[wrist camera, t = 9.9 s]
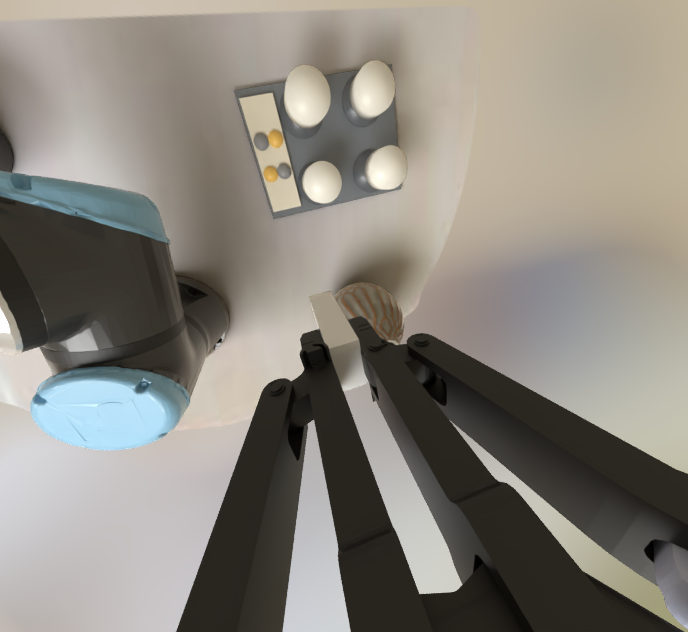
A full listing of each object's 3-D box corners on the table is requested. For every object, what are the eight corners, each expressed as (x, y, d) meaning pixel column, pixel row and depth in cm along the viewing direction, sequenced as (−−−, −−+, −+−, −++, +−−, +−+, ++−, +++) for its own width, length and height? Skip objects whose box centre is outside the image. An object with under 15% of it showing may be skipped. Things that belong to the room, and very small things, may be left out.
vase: (316, 280, 47) (337, 322, 32) (382, 268, 50) (431, 302, 34) (325, 339, 53) (347, 398, 38) (384, 326, 56) (426, 377, 40)
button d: (349, 125, 37) (359, 117, 33) (342, 79, 35) (352, 63, 31) (382, 119, 38) (396, 110, 34) (378, 73, 36) (392, 57, 31)
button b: (289, 135, 34) (292, 126, 30) (277, 85, 32) (278, 68, 28) (326, 127, 35) (334, 118, 31) (317, 78, 33) (325, 61, 28)
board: (273, 218, 41) (273, 219, 40) (234, 92, 34) (233, 87, 32) (399, 188, 44) (403, 188, 43) (389, 66, 37) (394, 61, 35)
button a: (305, 205, 40) (309, 207, 36) (296, 168, 38) (299, 165, 34) (337, 198, 41) (344, 198, 37) (330, 161, 39) (337, 157, 34)
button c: (363, 192, 40) (374, 193, 36) (357, 154, 37) (369, 149, 33) (394, 185, 41) (408, 185, 36) (390, 147, 38) (406, 141, 34)
